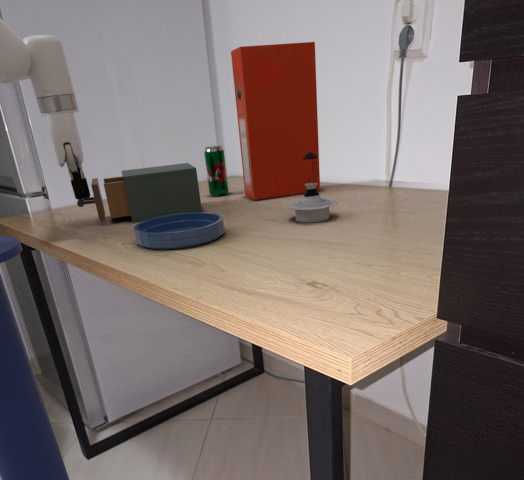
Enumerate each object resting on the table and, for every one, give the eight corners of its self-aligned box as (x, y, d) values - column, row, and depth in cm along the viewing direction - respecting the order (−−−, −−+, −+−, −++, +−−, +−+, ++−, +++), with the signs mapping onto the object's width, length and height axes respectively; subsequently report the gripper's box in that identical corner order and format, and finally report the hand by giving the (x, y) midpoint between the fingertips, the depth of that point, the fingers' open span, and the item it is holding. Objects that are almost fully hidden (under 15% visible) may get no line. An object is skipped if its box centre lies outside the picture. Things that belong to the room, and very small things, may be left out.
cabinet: (132, 222, 109) (123, 176, 105) (129, 212, 120) (121, 170, 116) (202, 212, 113) (196, 167, 108) (193, 203, 123) (187, 162, 119)
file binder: (245, 196, 127) (230, 50, 112) (307, 187, 131) (301, 46, 117) (254, 200, 120) (240, 46, 105) (320, 191, 124) (315, 41, 110)
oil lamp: (296, 156, 86) (347, 149, 89) (274, 153, 95) (321, 147, 98) (300, 227, 92) (347, 218, 95) (279, 218, 100) (323, 210, 103)
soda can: (232, 193, 133) (227, 144, 127) (222, 196, 129) (216, 147, 123) (216, 193, 135) (210, 145, 130) (206, 196, 131) (199, 148, 126)
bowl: (140, 256, 83) (136, 238, 82) (134, 235, 97) (131, 220, 96) (233, 241, 87) (231, 224, 85) (215, 223, 101) (213, 208, 100)
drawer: (81, 224, 107) (71, 187, 103) (82, 215, 117) (74, 180, 113) (166, 212, 111) (160, 176, 107) (161, 204, 121) (155, 171, 117)
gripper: (43, 108, 108) (68, 195, 116) (35, 108, 95) (63, 206, 103) (78, 104, 109) (100, 190, 118) (75, 103, 96) (100, 200, 105)
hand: (83, 197), depth 110 cm, fingers closed
